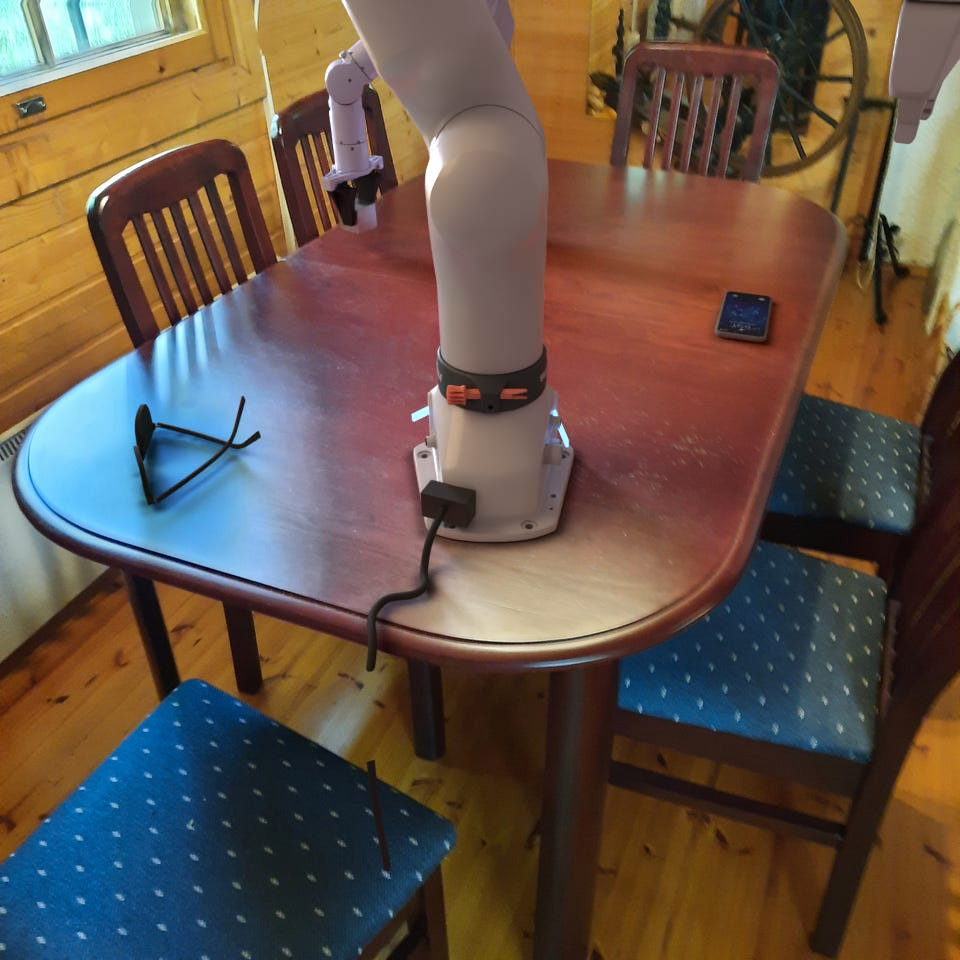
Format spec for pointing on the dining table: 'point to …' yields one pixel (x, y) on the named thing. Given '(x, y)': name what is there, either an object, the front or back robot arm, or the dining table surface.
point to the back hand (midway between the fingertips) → (358, 220)
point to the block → (361, 217)
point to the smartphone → (744, 316)
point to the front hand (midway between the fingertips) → (912, 129)
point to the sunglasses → (147, 427)
